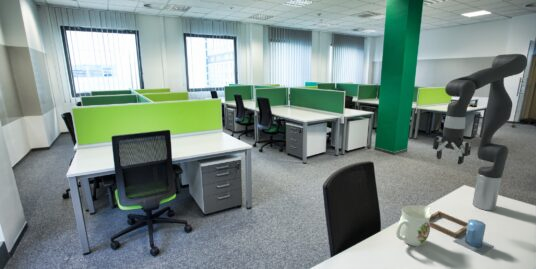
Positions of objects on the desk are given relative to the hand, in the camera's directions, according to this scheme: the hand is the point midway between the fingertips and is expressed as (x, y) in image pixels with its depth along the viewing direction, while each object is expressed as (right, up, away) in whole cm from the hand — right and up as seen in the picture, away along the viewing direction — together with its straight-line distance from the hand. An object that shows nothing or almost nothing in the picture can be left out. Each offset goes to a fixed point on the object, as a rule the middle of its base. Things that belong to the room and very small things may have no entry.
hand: (448, 161), depth 121 cm
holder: (-2, -29, 0) cm, 29 cm away
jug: (0, -32, -14) cm, 35 cm away
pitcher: (-24, -32, -12) cm, 41 cm away
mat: (+1, -32, -13) cm, 35 cm away
